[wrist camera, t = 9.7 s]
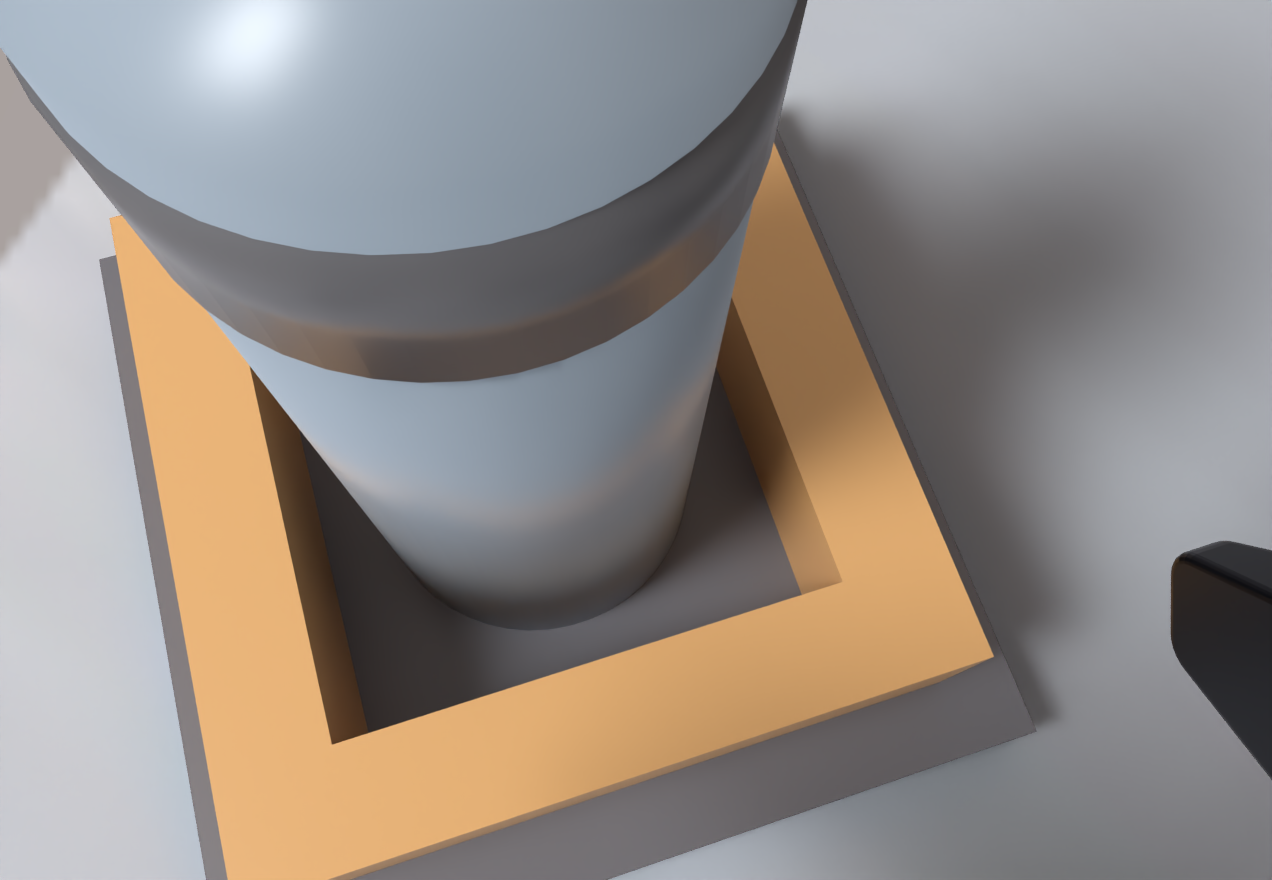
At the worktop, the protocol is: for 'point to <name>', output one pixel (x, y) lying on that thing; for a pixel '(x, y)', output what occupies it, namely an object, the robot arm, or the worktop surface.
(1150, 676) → the worktop surface
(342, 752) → the dock
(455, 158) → the canister
